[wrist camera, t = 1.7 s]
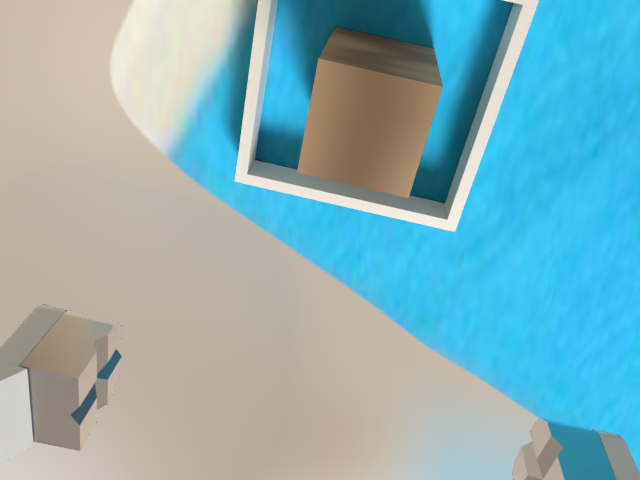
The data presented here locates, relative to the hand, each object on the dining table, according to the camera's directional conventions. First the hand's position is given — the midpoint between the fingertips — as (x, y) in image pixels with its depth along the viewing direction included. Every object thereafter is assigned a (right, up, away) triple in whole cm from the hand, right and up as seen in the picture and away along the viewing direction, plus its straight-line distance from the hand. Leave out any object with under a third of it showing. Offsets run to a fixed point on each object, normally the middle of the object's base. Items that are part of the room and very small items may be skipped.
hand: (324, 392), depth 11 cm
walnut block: (+3, +11, +19) cm, 22 cm away
